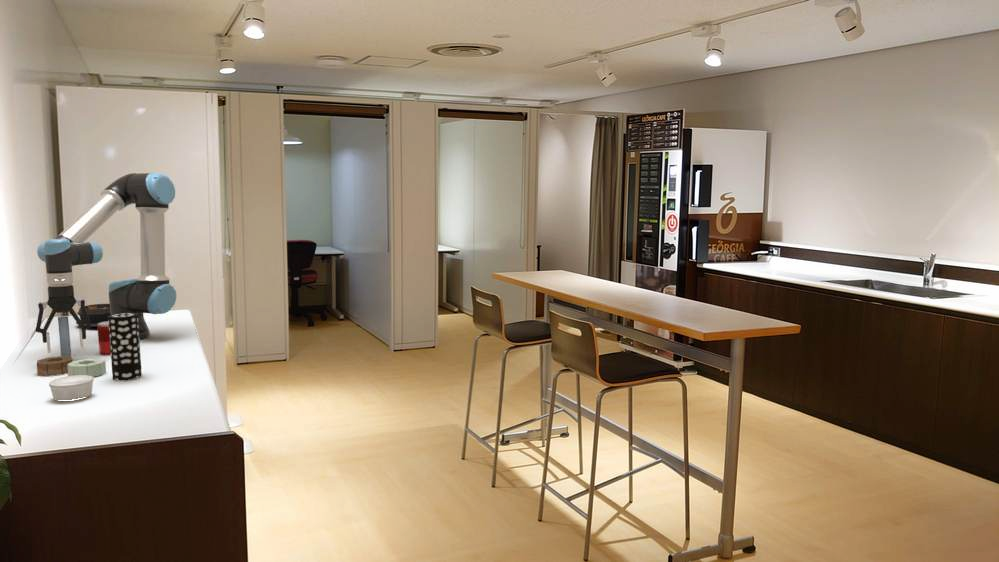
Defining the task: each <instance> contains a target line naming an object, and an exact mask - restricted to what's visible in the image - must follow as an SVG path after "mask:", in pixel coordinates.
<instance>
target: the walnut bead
mask: <svg viewBox="0 0 999 562" xmlns="http://www.w3.org/2000/svg"><path fill="white" fill-rule="evenodd" d="M73 359H74V358H73V356H71V357H68V356H61V355H59V356H52V357H50V356H49V357H45V358H41V359H38V360H36V371H37V372H36V374H37V376H40V375H54V376H58V375H57V374H62V375H65V373H66V374H68V366H67V364H69V363H71V362H73V361H74V360H73Z"/></svg>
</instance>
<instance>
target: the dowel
mask: <svg viewBox="0 0 999 562" xmlns="http://www.w3.org/2000/svg"><path fill="white" fill-rule="evenodd" d="M57 321H58V322H57V323H58V333H59V335H58V336H59V347H60V356H68V357H72V348H71V338H70V337H71V336H70V325H69V316H67V315H65V316H58V317H57Z"/></svg>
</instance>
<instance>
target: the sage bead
mask: <svg viewBox="0 0 999 562" xmlns="http://www.w3.org/2000/svg"><path fill="white" fill-rule="evenodd" d="M67 366H68V373H67V375H68V376H75V375H88V376H92V377H93V378H95V376H97V377H101V376H100V375H102V376H103V375H105V374H106V373H107V367H106V366H107V363H106V360H105V359H102V358H84V359H79V360H73V362H71V363H69V364H67ZM104 373H105V374H104Z"/></svg>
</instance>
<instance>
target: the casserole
mask: <svg viewBox="0 0 999 562" xmlns="http://www.w3.org/2000/svg"><path fill="white" fill-rule="evenodd" d="M85 309H86V311H87V314H88V317H89V320H90V323H91V327H97V325H98V323H101V322H107V321H108V316H109V315H111V314H110V303H98V304H97V303H95V304H88V305H85ZM76 314H77V315H78V317H79V318H80V320H81V321H82V323H83V324H84V325H87V324H86V321H85V319H84V316H83V313H82V310H81V306H79V309H78V312H76ZM75 324H76V325H78V323H77V322H76V321H75ZM97 328H98V327H97Z"/></svg>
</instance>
